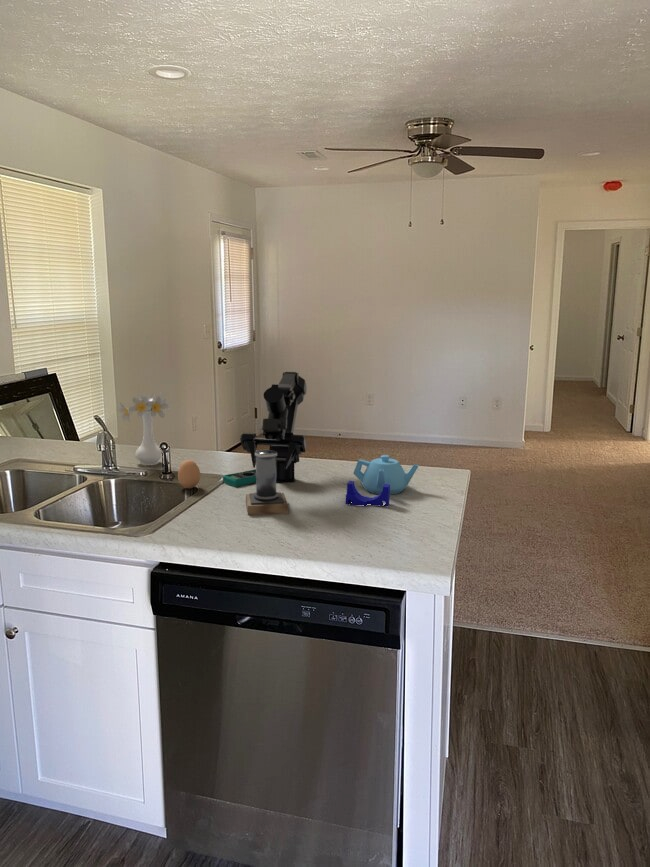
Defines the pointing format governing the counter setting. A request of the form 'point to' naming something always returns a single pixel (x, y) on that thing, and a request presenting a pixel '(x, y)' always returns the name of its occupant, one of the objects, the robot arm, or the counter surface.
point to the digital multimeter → (240, 478)
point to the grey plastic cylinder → (266, 475)
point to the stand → (266, 505)
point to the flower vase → (146, 425)
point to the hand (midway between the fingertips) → (269, 467)
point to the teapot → (383, 474)
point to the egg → (188, 474)
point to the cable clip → (362, 500)
